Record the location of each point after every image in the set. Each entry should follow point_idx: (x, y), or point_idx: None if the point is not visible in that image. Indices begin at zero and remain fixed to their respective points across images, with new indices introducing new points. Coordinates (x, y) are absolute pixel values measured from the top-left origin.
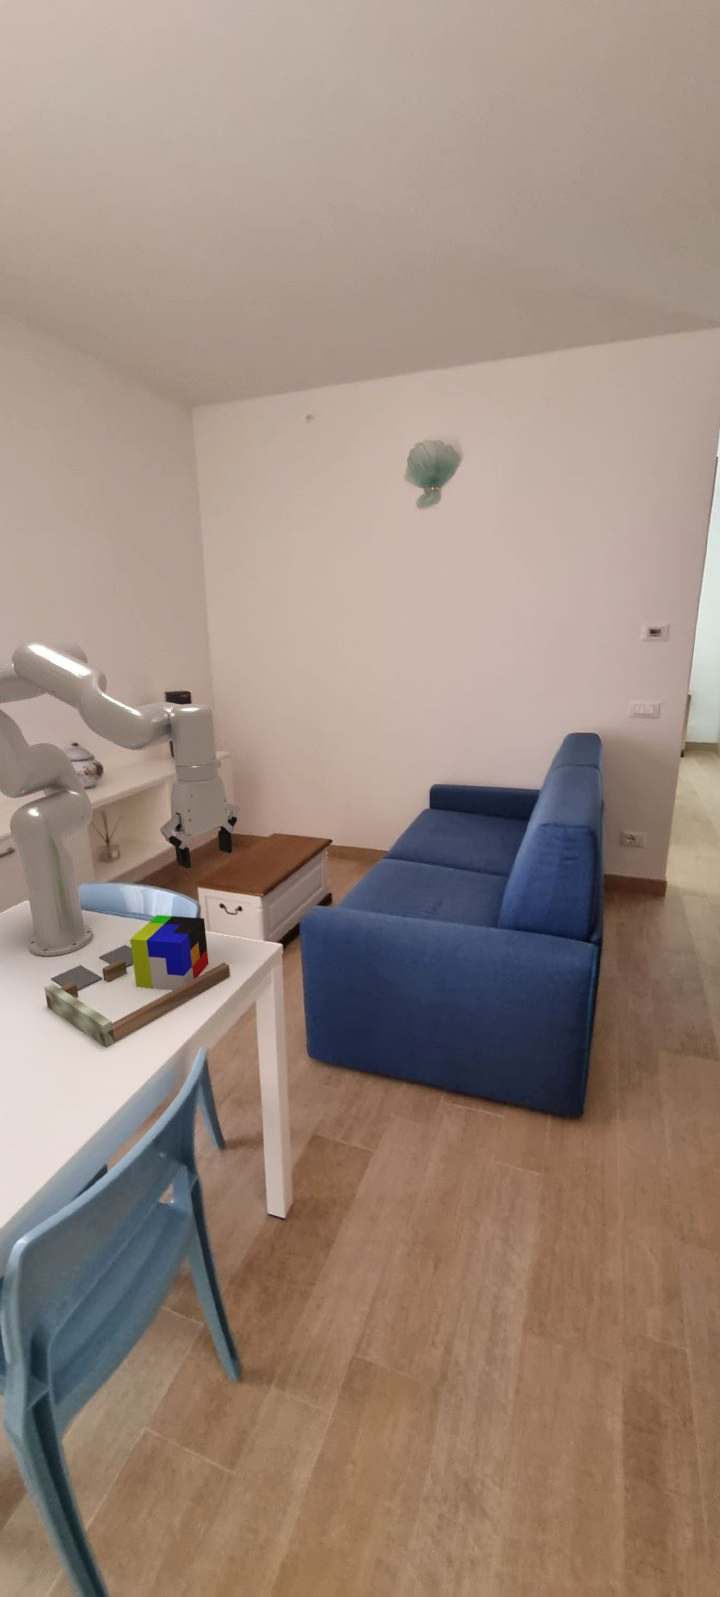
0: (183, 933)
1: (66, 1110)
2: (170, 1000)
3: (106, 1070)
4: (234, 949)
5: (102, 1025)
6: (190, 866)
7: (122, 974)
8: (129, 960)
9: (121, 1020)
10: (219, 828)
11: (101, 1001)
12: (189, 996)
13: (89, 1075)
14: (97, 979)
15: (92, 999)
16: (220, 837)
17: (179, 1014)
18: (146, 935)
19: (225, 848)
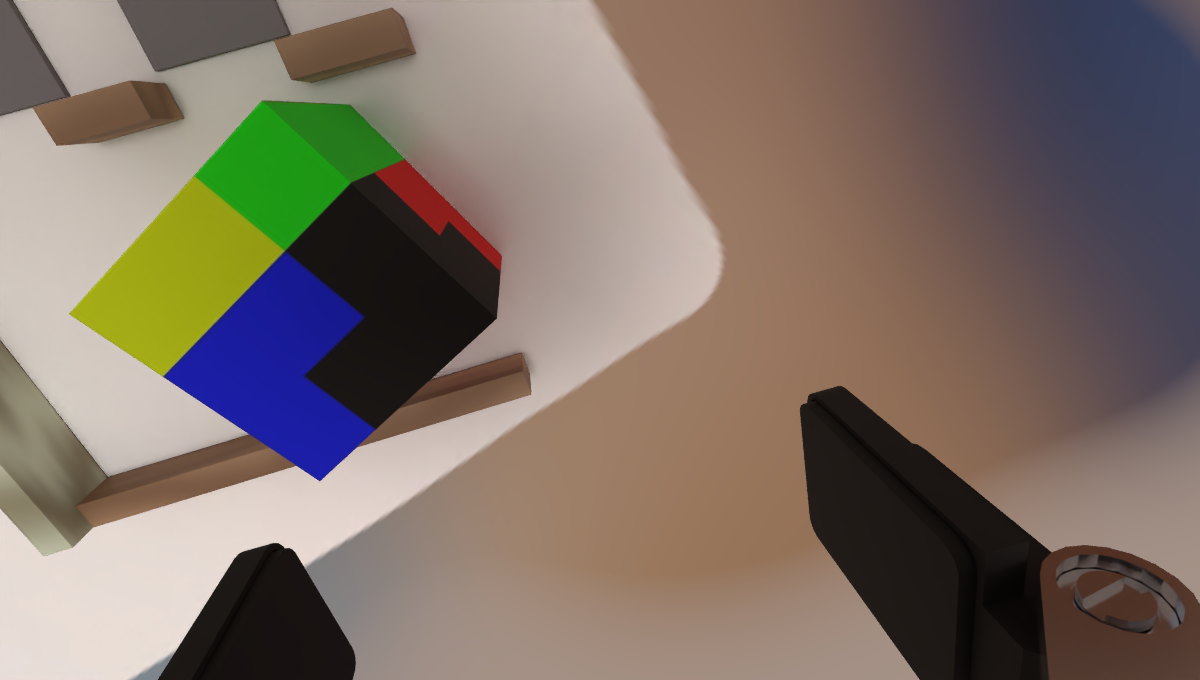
0: (355, 408)
1: (5, 655)
2: None
3: (100, 582)
4: (623, 216)
5: (42, 553)
6: (352, 660)
7: (161, 123)
8: (199, 16)
9: (122, 502)
10: (1042, 614)
11: (73, 266)
12: None
13: (54, 581)
14: (41, 99)
15: (34, 232)
16: (903, 541)
17: None
18: (166, 326)
19: (827, 516)
